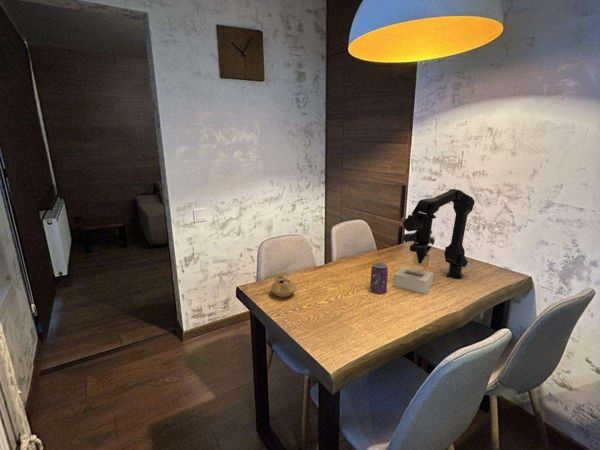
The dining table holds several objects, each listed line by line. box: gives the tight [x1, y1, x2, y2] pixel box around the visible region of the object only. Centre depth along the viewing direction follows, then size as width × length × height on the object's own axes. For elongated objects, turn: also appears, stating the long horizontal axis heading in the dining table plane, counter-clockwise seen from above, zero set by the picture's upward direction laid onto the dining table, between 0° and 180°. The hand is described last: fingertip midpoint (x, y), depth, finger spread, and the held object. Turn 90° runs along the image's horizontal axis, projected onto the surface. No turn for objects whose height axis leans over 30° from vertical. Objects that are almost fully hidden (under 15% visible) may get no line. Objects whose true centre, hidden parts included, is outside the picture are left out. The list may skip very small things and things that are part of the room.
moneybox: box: [393, 266, 434, 295], centre depth 147 cm, size 12×14×6 cm
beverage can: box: [369, 262, 389, 294], centre depth 141 cm, size 7×7×12 cm
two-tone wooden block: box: [412, 252, 430, 268], centre depth 144 cm, size 2×6×5 cm, turn 56°
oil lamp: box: [270, 275, 297, 298], centre depth 139 cm, size 11×15×8 cm
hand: (420, 262), depth 144 cm, fingers closed on two-tone wooden block, 2 cm apart
